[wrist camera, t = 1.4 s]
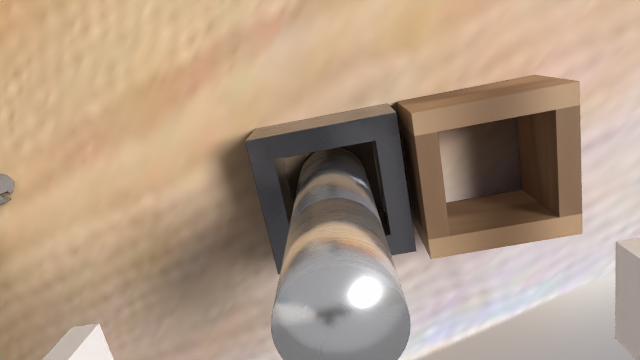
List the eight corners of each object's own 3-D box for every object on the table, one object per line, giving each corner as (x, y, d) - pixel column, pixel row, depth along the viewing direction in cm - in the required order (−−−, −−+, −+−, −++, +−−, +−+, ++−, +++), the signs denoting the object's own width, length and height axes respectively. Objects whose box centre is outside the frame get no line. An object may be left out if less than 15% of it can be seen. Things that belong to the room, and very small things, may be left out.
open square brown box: (414, 225, 24) (430, 258, 21) (396, 101, 22) (411, 113, 19) (541, 203, 24) (582, 233, 20) (535, 74, 22) (579, 81, 18)
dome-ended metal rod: (307, 215, 24) (287, 393, 12) (293, 154, 23) (256, 279, 11) (370, 204, 24) (418, 374, 12) (360, 141, 23) (400, 254, 11)
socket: (283, 247, 25) (278, 274, 22) (254, 128, 23) (244, 141, 20) (405, 226, 24) (416, 251, 22) (387, 103, 22) (396, 112, 20)
